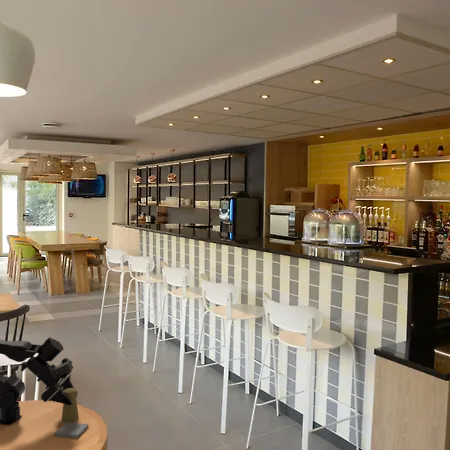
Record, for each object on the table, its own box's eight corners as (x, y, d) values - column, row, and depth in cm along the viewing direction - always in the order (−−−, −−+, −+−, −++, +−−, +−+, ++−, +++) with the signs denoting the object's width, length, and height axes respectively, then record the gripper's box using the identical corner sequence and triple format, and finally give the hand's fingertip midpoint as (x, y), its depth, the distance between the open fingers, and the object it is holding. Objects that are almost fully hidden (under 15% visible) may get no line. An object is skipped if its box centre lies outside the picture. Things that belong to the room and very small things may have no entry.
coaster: (55, 436, 153) (55, 433, 153) (67, 424, 161) (67, 421, 161) (77, 438, 152) (77, 435, 152) (88, 426, 160) (88, 424, 160)
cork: (73, 424, 162) (73, 393, 161) (57, 422, 163) (57, 391, 162) (81, 416, 168) (81, 386, 167) (66, 414, 169) (66, 385, 168)
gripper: (50, 363, 154) (83, 395, 156) (66, 346, 173) (95, 374, 174) (26, 386, 154) (60, 418, 156) (44, 366, 173) (74, 395, 174)
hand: (74, 399), depth 165 cm, fingers open, 7 cm apart
